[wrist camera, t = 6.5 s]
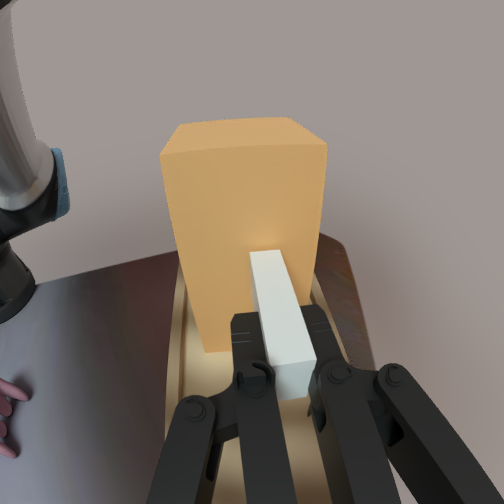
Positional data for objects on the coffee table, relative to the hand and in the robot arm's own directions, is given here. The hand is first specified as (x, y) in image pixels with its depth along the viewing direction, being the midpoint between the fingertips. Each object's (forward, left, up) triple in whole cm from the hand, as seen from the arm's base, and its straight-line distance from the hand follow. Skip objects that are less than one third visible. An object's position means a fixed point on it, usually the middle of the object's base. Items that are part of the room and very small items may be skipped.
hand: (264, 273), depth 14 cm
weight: (-4, -1, -7) cm, 8 cm away
